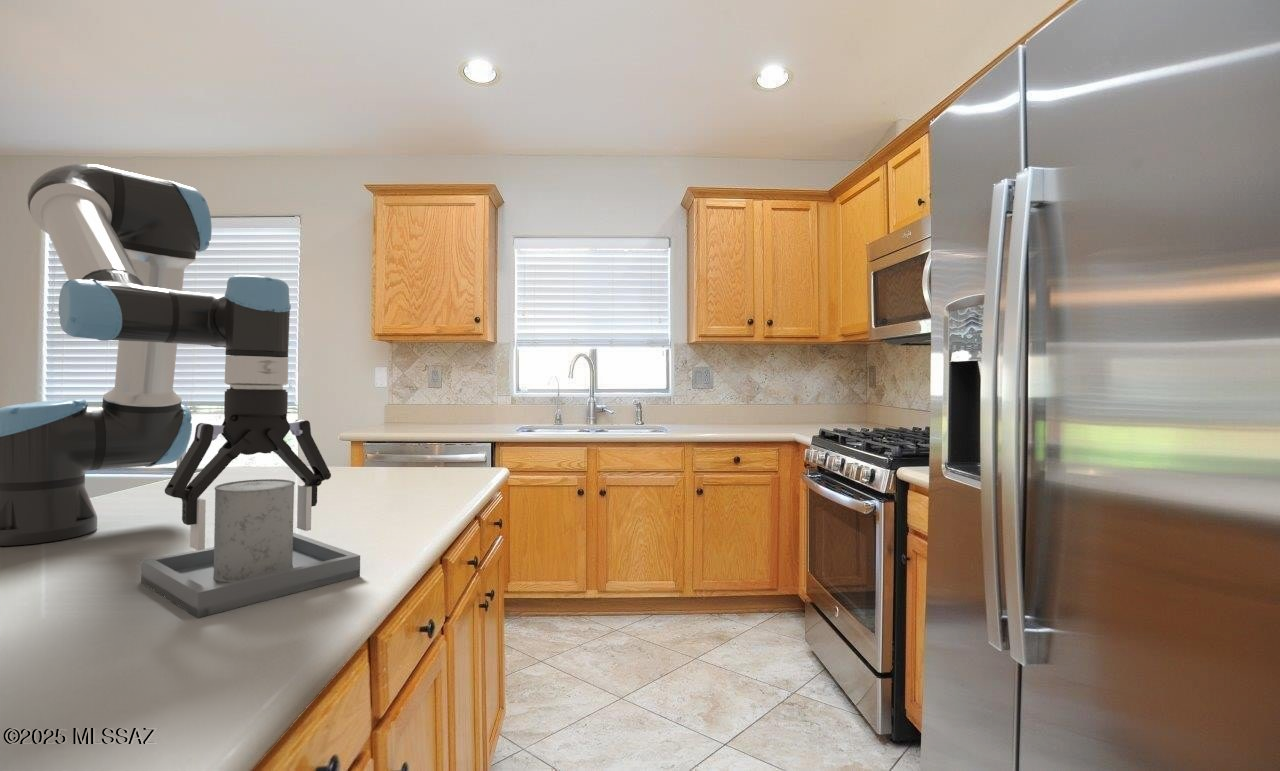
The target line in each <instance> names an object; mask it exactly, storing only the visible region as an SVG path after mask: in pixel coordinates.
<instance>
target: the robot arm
mask: <svg viewBox="0 0 1280 771" xmlns="http://www.w3.org/2000/svg"><path fill="white" fill-rule="evenodd" d="M27 207H28V212H29V213H30V216H31V218H32V219H33V221H34V223H35V224H36V226H37V227H38V228H40V229H41V230H42V231H43V232H44V233H46V234H48V236H49V238H50V240H51V242H52V246H53V247H54V250H55V251H56V254H57V256H58V258H59V261H60V263H61V265H62V268H63V271H64V272H65V275H66V277H67V279H68V280H66V281H65V282H64V283H63V284H62V286H61V288H60V292H59V298H58V316H59V324H60V327H61V329H62V331H63V332H64V333H66V335H68V336H70V337H74V338H82V339H83V338H84V339H92V340H98V341H101V342H106V341H107V342H108V341H118V342H117V356H116V365H115V378H114V387H113V388H112V389H111V390H109V391H106V393H104V394H103V396H102V405H97V406H89V403H87V400H86V399H83V398H70V399H68V398H67V399H56V400H53V399H52V400H46V401H45V400H44V401H35V402H34V401H32V402H27V403H18V404H11V405H7V406H3V407H0V547H3V546H5V547H7V546H8V547H9V546H22V545H23V546H25V545H34V544H35V545H36V544H41V543H48V542H55V541H56V542H57V541H62V540H66V539H71V538H77V537H80V536H84V535H87V534H90V533H93V532H95V531H96V530H98V516H97V512H96V510H95V507H94V505H93V503H92V501H91V498H90V496H89V494H88V491H87V489H86V472H87V471H89V472H90V471H100V470H114V469H123V468H126V469H127V468H136V467H137V468H138V467H139V468H140V467H141V468H142V467H146V468H149V467H154V466H158V465H159V466H160V465H168V464H172V463H174V462H176V461H178V460H179V459H180V458H181V457H182V456H183V455H184V456H183V458H182V460H181V461H180V462H179V465H178V466H177V468H176V470H175V471H174V473H173V475H172V476H171V478H170V480H169V481H168V484H167V485H166V487H165V489H164V494H166V496H169V497H172V498H176V499H177V498H178V499H181V501H182V503H181V506H182V507H181V511H182V512H181V521H182V522H183V524H184V525H187V526H189V528H190V529H189V532H190V533H189V535H190V536H189V547H190V548H192V549H193V550H195V551H196V550H204V549H206V543H205V542H206V506H207V504H206V499H204V498H201V497H200V496H201V495H202V494H203V493H204V492H205V491H206V490H207V489H208V488H209V486H210V485H211V484H212V483H214V481H215V480H216V479H217V478H218V477H219V476H220V474H221V473H223V471H224V470H225V469H226V468H227V467H228V465H229V464H230V463H232V461H233V460H235V459H237V458H238V456H240V455H246V456H250V455H254V454H258V453H260V454H271V453H272V452H273V453H274V454H276V455H277V456H278V457H279V458H280V459H281V460H282V461H283V462H284V463H285V464H286V465H287V466H288V467H289V468H290V470H292V472H293V473H294V474H295V475H297V477H298V478H299V479H300V480H301V481H302V482H303V484H297V505H296V506H297V510H296V511H297V512H296V515H297V516H296V528H297V529H299V530H301V531H304V532H308V531H311V530H312V507H316V506H317V504H318V487H320V486H321V484H322V483H323V482H324V481H326V480H327V481H328V480H330V479H331V477H332V473H331V471H330V470H329V467H328V465H327V463H326V461H325V460H324V457H323V455H322V454H321V451H320V449H319V447H318V445H317V444H316V441H315V439H314V438H313V436H312V432H311V431H312V429H311V422H310V421H309V420H307V419H306V420H304V419H295V420H294V421H290V422H289V421H288V418H287V417H288V403H289V402H288V400H289V398H288V397H289V396H288V395H289V392H288V391H287V389H284V386H287V385H288V384H289V381H288V380H289V344H290V343H289V340H290V337H289V336H290V317H291V316H290V315H291V314H290V311H291V308H292V306H291V304H290V287H289V286H288V284H287V283H286V282H285V280H284V281H283V280H282V279H279V278H275V277H271V276H270V277H269V276H263V275H252V274H250V275H249V274H245V275H244V274H238V275H237V274H236V275H232V276H230V277H229V278H228V280H227V283H226V290H225V292H224V295H223V294H215V293H214V294H213V293H212V294H211V293H204V292H194V291H187V290H184V291H183V288H184V276H185V268H186V267H188V266H189V265H191V264H192V263H194V262H195V261H196V257H197V256H196V255H197V252H198V253H201V252H205V251H206V250H207V249H208V248H209V246H210V242H211V239H212V226H213V225H212V217H211V212H210V207H209V205H208V202H207V201H206V199H205V197H204V196H203V194H202V193H201V192H200V191H199V190H198V189H196V188H194V187H191V186H188V185H184V184H182V183H178V182H175V181H173V180H166V179H163V178H158V177H157V178H156V177H152V176H148V175H143V174H139V173H135V172H129V171H125V170H121V169H117V168H113V167H112V168H111V167H108V166H105V165H100V164H93V163H73V164H66V165H64V166H63V165H62V166H59V167H56V168H53V169H51V170H49V171H46V172H45V173H43V174H42V175H40V176H39V177H38V178H37V179H35V181H34V182H33V183H32V185H31V186H30V188H29V190H28V193H27ZM179 344H181V345H200V346H210V347H215V348H225V353H224V354H225V361H224V362H225V365H224V384H226V385H228V386H229V388H227V389H226V390H225V391H224V402H223V404H224V410H223V412H224V413H223V416H224V419H223V423H222V424H221V425H219V424H217V425H216V424H212V423H211V424H210V423H206V422H205V423H203V422H200V423H198V424H196V426H195V432H194V437H193V438H194V439H193V441H192V443H190V440H191V436H192V430H193V429H192V428H193V427H192V426H193V425H192V419H193V418H192V414H191V410H190V409H189V408H188V407H187V405H184V404H182V397H181V396H180V395H178V394H177V393H176V392H175V391H174V381H175V370H176V359H177V349H178V345H179ZM289 432H290V433H291V434H292V435H293V436H295V439H296V441H297V442H298V445H299V447H300V449H301V451H302V452H303V454H304V457H305V458H306V461H307V462H308V464H309V466H310V468H309V467H308V466H307V464H305V463H304V461H302V459H300V457H299V456H298V455H297V454H296V453H295V452H294V451H293V450H292V447H291V446H290V445H289V444H288V443H287V441H285V440H284V438H285V437H286V436H287V435H288V434H289ZM220 434H221V436H222V437H223V438H224V440H226V442H224V444H223V445H222V446H221V447H220V448H219V449H218V451H217V454H215V455H214V457H212V458H211V459H210V461H209V462H208V463H207V464H206V465H205V466H204V467H203V468H202V470H201V471H200V472H198V474H197V475H196V476H194V474H195V472H197V469H198V467H199V466H200V464H201V462H202V461H203V459H204V457H205V455H206V453H207V452H208V450H209V449H210V448H211V447H210V446H211V445H212V441H216V440H217V439H218V438H217V437H218V436H219V435H220ZM189 443H190V444H191V445H190V446H189V448H188V445H189ZM187 448H188V449H187ZM186 450H187V451H186ZM185 452H186V453H185ZM193 476H194V478H193ZM192 478H193V479H192Z"/></svg>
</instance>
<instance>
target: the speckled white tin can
mask: <svg viewBox="0 0 1280 771" xmlns="http://www.w3.org/2000/svg"><path fill="white" fill-rule="evenodd" d="M295 484H296V482H295V481H293V480H290V479H280V478H279V479H276V478H272V479H271V478H267V479H266V478H265V479H264V478H263V479H262V478H261V479H249V480H248V479H246V480H238V481H230V482H226V483H220V484H217V485H215V487H214V491H215V492H214V493H215V494H214V500H215V501H214V531H213V532H214V534H213V535H214V537H213V539H214V542H213V543H214V544H213V547H214V574H213V579H215V580H216V581H220V582H227V583H229V582H234V581H238V580H243V579H247V578H252V577H256V576H260V575H265V574H269V573H274V572H278V571H283V570H287V569H291V568H293V565H292V558H293V533H294V504H295V502H294V500H295V499H294V498H295Z"/></svg>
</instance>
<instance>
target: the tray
mask: <svg viewBox="0 0 1280 771" xmlns="http://www.w3.org/2000/svg"><path fill="white" fill-rule="evenodd" d="M140 563H141V564H140V565H141V566H140V568H141V569H140V570H141V571H140V572H141V573H140V583H142V584H143V583H144V585H145V586H146V585H147V586H146V587H148V586H149V587H150V589H151V588H152V589H151V590H153V589H154V590H155V592H156V591H157V592H158V593H157V592H156V593H157V594H159V593H160V594H161V595H160V594H159V595H160V596H162V595H163V596H162V597H164V596H165V597H166V598H165V597H164V598H165V599H167V598H168V599H169V601H170V600H171V601H172V602H171V601H170V602H171V603H173V602H174V603H173V604H175V605H176V604H177V605H176V606H178V605H179V606H180V607H179V606H178V607H179V608H181V607H182V608H183V609H182V608H181V609H182V610H184V609H185V610H186V612H187V611H188V612H187V613H188V614H191V615H192V616H193V617H194V618H196V619H200V618H203V617H207V616H211V615H215V614H218V613H222V612H223V613H224V612H226V611H230V610H235V609H237V608H241V607H245V606H250V605H254V604H258V603H261V602H265V601H269V600H273V599H276V598H280V597H281V598H282V597H284V596H288V595H292V594H296V593H300V592H303V591H307V590H312V589H316V588H318V587H319V588H320V587H323V586H327V585H331V584H335V583H339V582H342V581H346V580H350V579H354V578H358V577H361V555H360V554H357V553H354V552H351V551H348V550H345V549H343V548H339V547H337V546H334V545H331V544H328V543H325V542H322V541H319V540H316V539H313V538H310V537H308V536H304V535H302V534H298V533H296V532H293V558H292V565H293V568H291V569H287V570H283V571H278V572H274V573H269V574H265V575H260V576H256V577H252V578H247V579H243V580H238V581H234V582H229V583H227V582H220V581H216V580H215V579H213V574H214V546H213V547H208V548H205V549H204V550H196V549H195V550H192V551H191V550H190V551H185V552H181V553H175V554H170V555H163V556H157V557H152V558H147V559H142V560H141V562H140ZM149 587H148V588H149ZM154 590H153V591H154ZM168 599H167V600H168ZM185 610H184V611H185Z"/></svg>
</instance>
